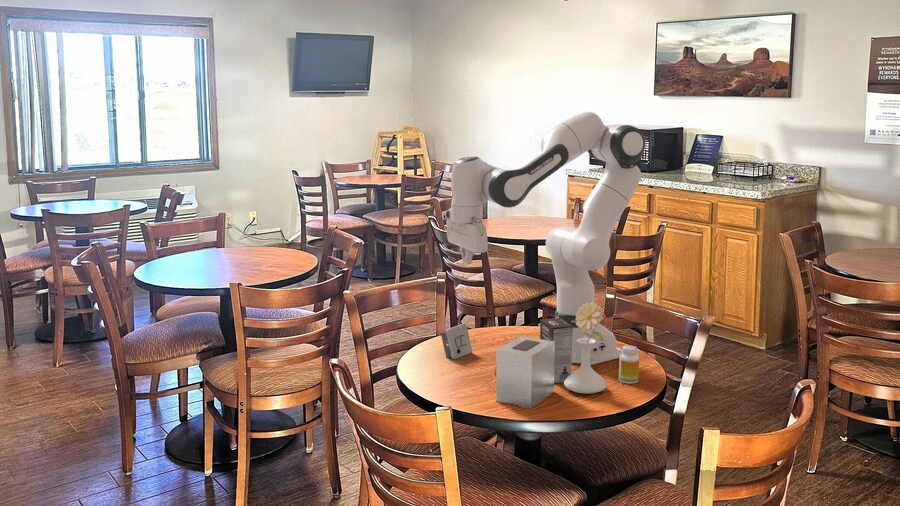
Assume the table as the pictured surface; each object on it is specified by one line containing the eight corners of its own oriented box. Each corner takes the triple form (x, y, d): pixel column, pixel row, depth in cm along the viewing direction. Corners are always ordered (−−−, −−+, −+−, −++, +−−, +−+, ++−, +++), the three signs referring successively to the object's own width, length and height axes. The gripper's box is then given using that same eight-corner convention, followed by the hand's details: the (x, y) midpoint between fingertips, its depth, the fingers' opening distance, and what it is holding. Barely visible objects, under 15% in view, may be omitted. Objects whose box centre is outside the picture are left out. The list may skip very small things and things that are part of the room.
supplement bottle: (641, 383, 230) (642, 349, 228) (622, 384, 229) (624, 350, 227) (634, 377, 235) (635, 343, 233) (615, 378, 234) (617, 344, 232)
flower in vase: (556, 385, 228) (558, 296, 223) (592, 380, 232) (595, 293, 227) (580, 402, 216) (582, 308, 211) (618, 396, 220) (621, 304, 215)
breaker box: (496, 401, 217) (496, 348, 214) (520, 385, 228) (520, 335, 226) (531, 408, 212) (531, 354, 209) (553, 391, 223) (554, 340, 221)
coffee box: (538, 373, 238) (539, 318, 235) (558, 371, 240) (560, 317, 237) (551, 383, 230) (552, 327, 227) (572, 381, 232) (573, 325, 229)
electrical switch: (454, 360, 250) (451, 330, 249) (440, 359, 253) (438, 329, 252) (473, 353, 257) (470, 323, 256) (459, 351, 261) (457, 322, 259)
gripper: (493, 219, 227) (493, 268, 230) (462, 209, 246) (462, 256, 248) (472, 220, 225) (472, 270, 227) (442, 211, 243) (442, 257, 246)
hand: (467, 263), depth 238 cm, fingers closed
